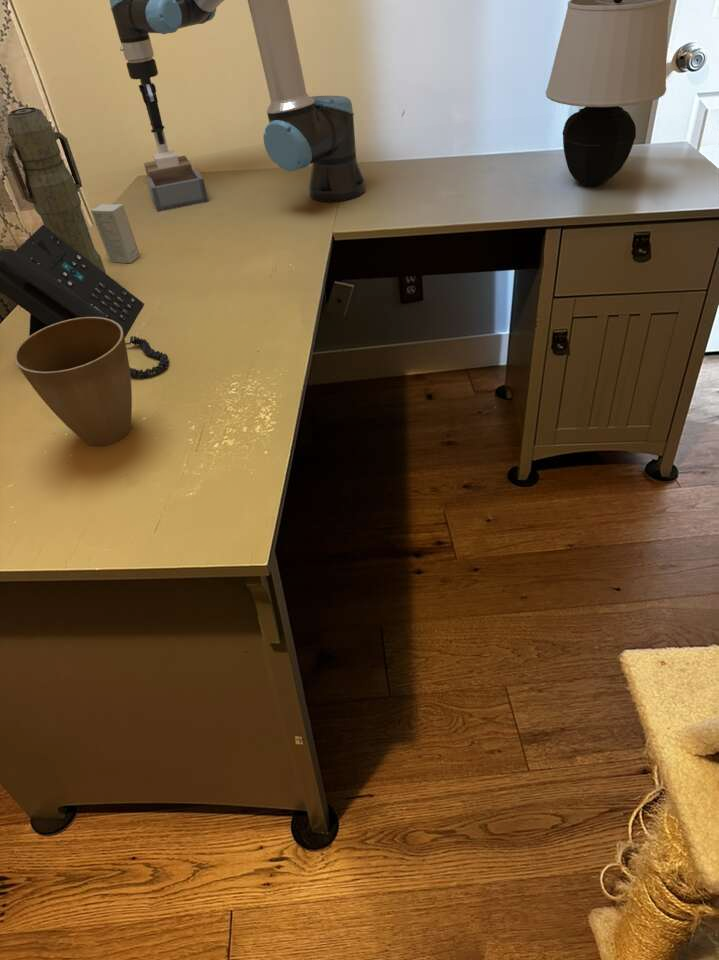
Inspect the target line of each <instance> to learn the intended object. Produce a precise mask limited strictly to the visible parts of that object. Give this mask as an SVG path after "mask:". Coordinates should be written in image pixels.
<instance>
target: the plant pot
mask: <svg viewBox="0 0 719 960" xmlns="http://www.w3.org/2000/svg"><path fill="white" fill-rule="evenodd" d="M125 339H126V338H125V337H124V334H123V329H122V327H121V326H120V325H119V324H118V323H116V322H115V321H113V320H110V319H107V318H102V317H82V318H74V319H69V320H65V321H61V322H58V323H55V324H52V325H50V326H47V327H45V328H43V329H41V330H39V331H37V332H35V333H34V334H32V335H31V336H29V335H28V337H26V338H25V339H24V340H23V341H22V342H21V343H20V344H19V345H18V347H17V348H16V350H15V351H14V355H13V359H14V362H15V364H16V366H17V367H18V369H19V370H20V371H21V373H22V374H23V376H24V378H25V379H26V380H27V381H28V383H29V384H30V385H31V387H32V388H33V390H34V391H35V392H36V394H37V395H38V396H39V397H40V398H41V400H42V401H43V402H44V403H45V404H46V406H47V407H48V408H50V410H51V411H52V412H53V413H54V414H55V415H56V416H57V418H58V419H59V420H60V421H61V422H62V423H63V424H64V425H65V426H66V427H68V428H69V429H70V431H72V433H73V434H75V435H76V436H77V437H78V438H79V439H81V440H82V441H84V443H86V444H87V445H89V446H94V447H102V446H104V447H105V446H108V445H112V444H114V443H117V442H120V441H121V440H122V439H123V438H125V437H126V436H127V435H128V434H129V432H130V431H131V425H132V415H133V414H132V412H133V411H132V409H133V405H132V404H133V403H132V402H133V400H132V399H133V398H132V397H133V396H132V394H133V393H132V391H133V390H132V378H131V376H130V368H131V367H130V362H129V357H128V356H129V355H128V349H127V345H126V340H125ZM129 367H130V368H129Z"/></svg>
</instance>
